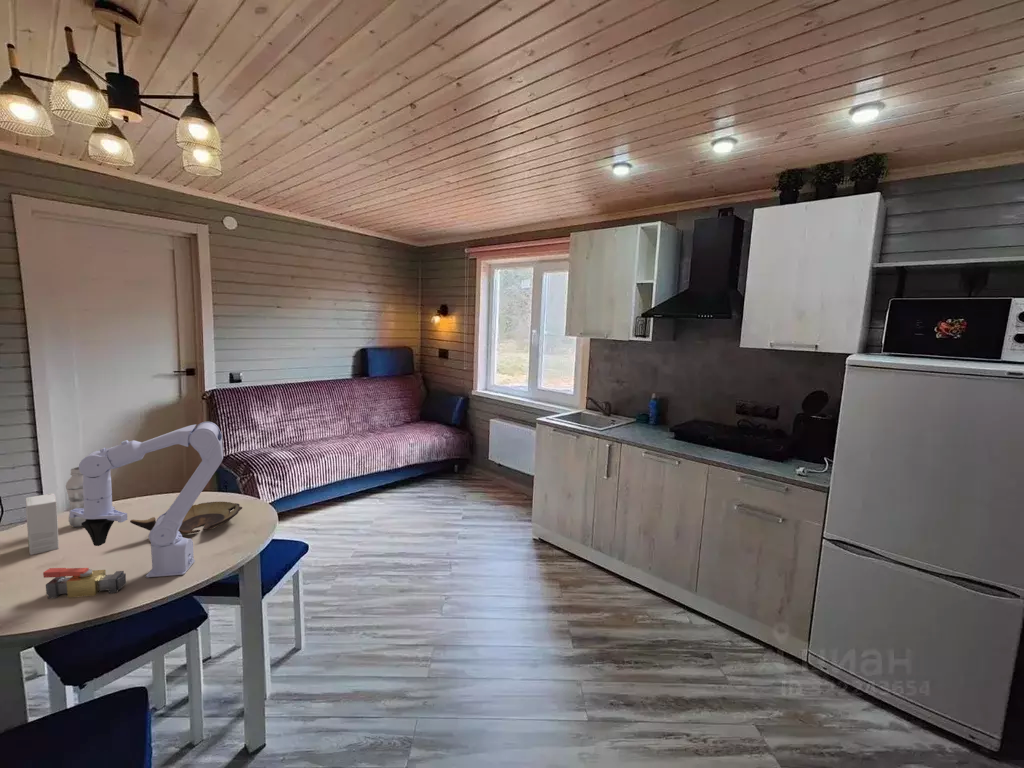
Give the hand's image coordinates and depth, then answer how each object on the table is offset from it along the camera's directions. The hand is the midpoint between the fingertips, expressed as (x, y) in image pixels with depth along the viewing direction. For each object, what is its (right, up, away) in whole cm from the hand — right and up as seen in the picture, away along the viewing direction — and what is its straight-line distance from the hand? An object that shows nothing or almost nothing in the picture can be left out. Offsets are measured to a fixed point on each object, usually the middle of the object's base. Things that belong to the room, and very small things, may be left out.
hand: (99, 544), depth 126 cm
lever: (-3, -6, -5) cm, 9 cm away
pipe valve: (0, -11, -4) cm, 12 cm away
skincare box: (-31, -7, +16) cm, 36 cm away
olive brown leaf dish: (+2, -6, +34) cm, 35 cm away
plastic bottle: (-34, -5, +32) cm, 47 cm away
